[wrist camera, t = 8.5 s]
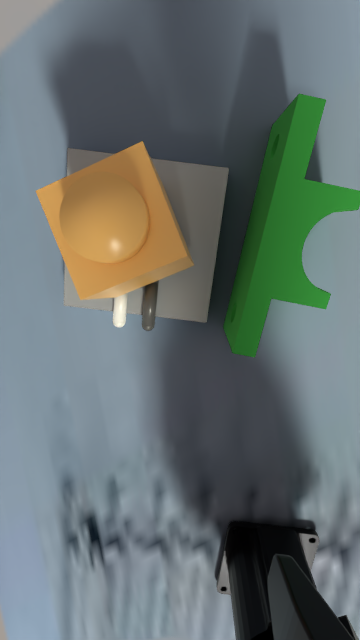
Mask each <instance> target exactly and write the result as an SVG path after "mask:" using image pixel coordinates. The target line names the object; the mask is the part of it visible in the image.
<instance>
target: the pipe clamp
mask: <svg viewBox="0 0 360 640" xmlns="http://www.w3.org/2000/svg"><path fill="white" fill-rule="evenodd" d="M325 102H326V100H325V99H321V98H316V97H312V96H307V95H303V94H298V95H297V97H296V98H295V99H294V100H293V101H292V103H291V104H290V105H289V106H288V107H287V108H286V110H285V111H284V112H283V113H282V114H281V116H280V117H279V118H278V119H277V120H276V122H275V123H274V124H273V125H272V128H271V132H270V136H269V140H268V145H267V149H266V153H265V157H264V161H263V165H262V169H261V173H260V177H259V182H258V186H257V190H256V194H255V198H254V202H253V206H252V210H251V215H250V219H249V223H248V227H247V231H246V235H245V239H244V243H243V247H242V252H241V256H240V260H239V264H238V268H237V272H236V276H235V280H234V284H233V289H232V293H231V297H230V301H229V305H228V309H227V313H226V317H225V322H224V326H223V328H224V331H225V334H226V336H227V339H228V342H229V345H230V347H231V350H232V353H234V354H240V355H245V356H250V357H255V356H256V352H257V348H258V345H259V341H260V338H261V334H262V330H263V327H264V323H265V320H266V316H267V312H268V309H269V305H270V301H271V298H272V299H277V300H282V301H287V302H292V303H297V304H302V305H307V306H312V307H317V308H322V309H326V307H327V304H328V301H329V298H330V295H331V294H330V293H328V292H326V291H324V290H322V289H320V288H317V287H315V286H314V285H313V284H312V283H311V282H310V281H309V279H308V278H307V276H306V274H305V272H304V269H303V266H302V249H303V245H304V242H305V239H306V237H307V235H308V233H309V232H310V230H311V229H312V228H313V226H314V225H315V224H316V223H317V222H318V221H320V220H321V219H322V218H324V217H325V216H327V215H329V214H331V213H333V212H342V211H353V210H358V209H359V206H360V191H358V190H353V189H349V188H344V187H339V186H335V185H330V184H325V183H320V182H316V181H311V180H306V179H304V178H305V175H306V171H307V168H308V164H309V160H310V157H311V153H312V149H313V146H314V142H315V139H316V135H317V131H318V128H319V124H320V121H321V117H322V113H323V110H324V106H325Z"/></svg>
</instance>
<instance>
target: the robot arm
mask: <svg viewBox="0 0 360 640" xmlns="http://www.w3.org/2000/svg"><path fill="white" fill-rule="evenodd" d="M234 529H235V530H234ZM318 544H319V537H318V535H317V532H315V531H314V530H308V529H299V528H290V527H281V526H273V525H264V524H255V523H247V522H238V521H233V522H230V523H229V525H228V528H227V533H226V538H225V543H224V548H223V553H222V558H221V563H220V568H219V573H218V579H217V591H218V592H219V593H221V594H228V595H231V600H232V609H233V617H234V626H235V635H236V640H359V639H358V637H357V635H356V633H355V631H354V629H353V627H352V625H351V623H350V621H349V619H348V617H347V615H344V616H341V617H338V618H337V616H336V615H335V614H334V612H333V611H332V610H331V608H330V607H329V606H328V604H327V603H326V602H325V600H324V599H323V598H322V596H321V595H320V594H319V592H318V591H317V589H316V585H315V582H314V580H313V577H312V574H311V568H312V564H313V561H314V558H315V554H316V551H317V547H318Z"/></svg>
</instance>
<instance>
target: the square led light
mask: <svg viewBox="0 0 360 640" xmlns="http://www.w3.org/2000/svg"><path fill="white" fill-rule="evenodd" d="M36 193H37V195H38V198H39V200H40V203H41V205H42V208H43V210H44V212H45V215H46V217H47V220H48V222H49V225H50V227H51V230H52V232H53V234H54V237H55V239H56V242H57V244H58V247H59V249H60V252H61V254H62V256H63V259H64V261H65V264H66V266H67V269H68V271H69V273H70V276H71V278H72V281H73V283H74V286H75V288H76V291H77V293H78V295H79V298H80V300H89V299H102V298H115V297H118V296H121V295H123V294H126V293H128V292H131V291H133V290H136V289H138V288H141V287H143V286H145V285H148V284H150V283H153V282H155V281H158V280H160V279H163V278H165V277H167V276H170V275H172V274H175V273H177V272H180V271H182V270H185V269H187V268H190V267H192V266H194V263H193V260H192V258H191V255H190V253H189V250H188V247H187V245H186V242H185V240H184V237H183V235H182V232H181V230H180V227H179V224H178V222H177V219H176V217H175V214H174V212H173V209H172V206H171V204H170V201H169V199H168V196H167V194H166V191H165V188H164V186H163V183H162V181H161V179H160V177H159V175H158V173H157V171H156V169H155V166H154V164H153V162H152V160H151V158H150V156H149V154H148V152H147V150H146V147H145V145H144V143H143V141H142V142H139V143H137V144H135V145H133V146H131V147H129V148H127V149H124V150H122V151H120V152H118V153H116V154H114V155H112V156H109V157H107V158H105V159H103V160H101V161H99V162H97V163H94V164H92V165H90V166H88V167H86V168H84V169H82V170H79V171H77V172H75V173H73V174H71V175H69V176H67V177H64V178H62V179H60V180H58V181H56V182H54V183H52V184H50V185H47V186H45V187H43V188H41V189H39V190H37V191H36Z"/></svg>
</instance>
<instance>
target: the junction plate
mask: <svg viewBox="0 0 360 640" xmlns="http://www.w3.org/2000/svg"><path fill="white" fill-rule="evenodd" d="M112 155H114V154H112V153H104V152H96V151H88V150H80V149H72V148H68V152H67V176H69V175H71V174H73V173H75V172H77V171H79V170H82V169H84V168H86V167H88V166H90V165H92V164H94V163H97V162H99V161H101V160H103V159H105V158H107V157H109V156H112ZM151 160H152V162H153V164H154V166H155V169H156V171H157V173H158V175H159V177H160V179H161V181H162V183H163V186H164V188H165V191H166V194H167V196H168V199H169V201H170V204H171V206H172V209H173V212H174V214H175V217H176V219H177V222H178V224H179V227H180V230H181V232H182V235H183V237H184V240H185V242H186V245H187V247H188V250H189V253H190V255H191V258H192V260H193V263H194V266H192V267H190V268H187V269H185V270H182V271H180V272H177V273H175V274H172V275H170V276H167V277H165V278H163V279H160V280H158V281H155V282H153V283H150V284H148V285H145V286H143V287H141V288H138V289H136V290H133V291H131V292H128V293H126V294H123V295H121V296H118V297H115V298H102V299H89V300H80V298H79V295H78V293H77V291H76V288H75V286H74V283H73V281H72V278H71V276H70V273H69V271H68V269H67V266H66V264H65V275H64V306H72V307H80V308H89V309H97V310H105V311H113V324H114V325H115V326H116V327H122V326H124V325H125V322H126V313H130V314H139V315H143V316H142V327H143V329H144V330H146V331H150V330H152V329H153V328H154V325H155V317H164V318H172V319H180V320H189V321H197V322H205V323H207V316H208V309H209V302H210V295H211V289H212V282H213V275H214V268H215V261H216V254H217V247H218V241H219V234H220V227H221V220H222V213H223V206H224V199H225V192H226V186H227V179H228V172H229V168H224V167H216V166H208V165H200V164H192V163H184V162H176V161H168V160H160V159H152V158H151Z"/></svg>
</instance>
